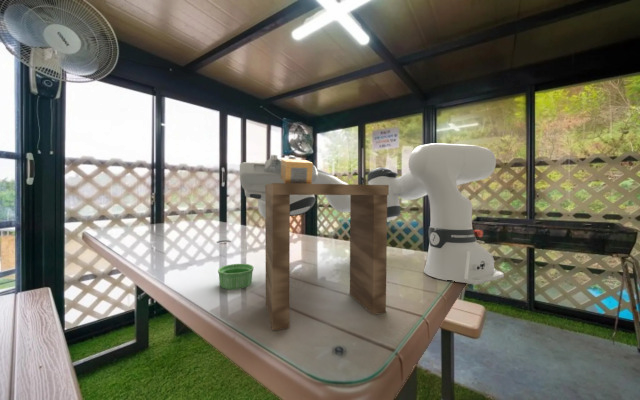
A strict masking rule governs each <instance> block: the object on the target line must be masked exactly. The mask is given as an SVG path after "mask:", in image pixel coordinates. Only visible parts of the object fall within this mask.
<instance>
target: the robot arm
mask: <svg viewBox="0 0 640 400" xmlns="http://www.w3.org/2000/svg"><path fill="white" fill-rule="evenodd" d="M277 157H278V155H277V154H271V155H270V158H269V159H267V160H266V161H265V162H245V161H243V162H241V163H240V164H239V180H240V186H241V187H242V189H243V190H244V196H245V197H246V198H251V199H257V210H258V212H259V215H261V217H262V218H264V219H265V220H266V194H265V185H268V184H271V183H284V182H283V181H282V180H281V174H280V173H278V172H277V171H276V170H275V165H277V161H278V158H279V157H278V158H277ZM287 158H288V159H292V160H297V158H296V156H295V155H289V156H288V157H287ZM407 164H408V170H407V171H406V172H405V173H403V175H401V176H398V175H399V174H398V172H396V171H393V170H392V169H390V168H388V167H377V168H374V169H372V170H370V171H369V172H368V173H367V176H366V177H367V178H366V179H367V180H366V181H367V183H368V184H367V185H389V195H387V222H390V221H392V220H395V219H396V218H398V217H400V215H401V213H402V208H401V205H400V198H401V199H402V200H404V201H405V200H406V201H411V200H412V201H413V200H417V199H421V198H423V197H425V196H428V201H429V210H430V211H429V212H430V214H429V215H430V217H429V218H430V224H429V225H430V226H429V227H428V240H429V245H428V251H427V257H426V261H425V267H424V269H423V273H424V274H425V275H428V276H430V277H431V278H432V277H433V278H435V279H439V280H441V281H447V280H454V281H455V282H456V283H465V284H470V285H474V286H478V285H481V284H485V283H488V282H491V281H494V280H498V279H502V278H504V277H505V275H504V274H505V273H504V272H502V271H501V270H498V269H495V260H494V256H493V254H491V252H489V251H488V250H487V249H485V248H484V246H482V245H481V244H480V243H478V241H477V238H476V237H479V238H483V235H484V231H483V230H482V229H473V225H472V223H473V204H472V201H471V200H470V199H469V197H467V196H466V195H463V194H462V193H461V191H460V190H459V188H458V186H461V185H465V184H468V183H472V182H476V181H477V182H478V181H482V180H486V179H488V178H489V177H490V176H492V174H494V171H495V169H496V165H497V159H496V155H495V153H494V152H493V150H491V149H489V148H486V147H482V146H479V145H474V144H457V143H436V142H435V143H434V142H433V143H427V144H422V145H418V146H416V147H415V148H414V149H413V151H411V153H410V155H409V157H408V163H407ZM312 184H348V183H347V182H346V181H342V180H341V179H339V178H338V177H336V176H335V175H333V174H331V173H329V172H326V171H323V170H321V169H318V168H317V167H316V166H315V165H314V164H313V169H312ZM315 196H316V195H290V217H295V216H302V215H304V214H305V213H308V212H309V211H310V210H311V209H312V208H313V207H314V204H315V203H316V197H315ZM324 197H325V198H326V201H327V202H328V203H329V205H330V206H331V207H332V209H334V210H336V211H338V212H341V213H350V195H324ZM454 281H453V282H454Z"/></svg>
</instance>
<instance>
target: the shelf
mask: <svg viewBox="0 0 640 400" xmlns="http://www.w3.org/2000/svg"><path fill="white" fill-rule="evenodd" d="M265 194H266V219H265V307H266V308H265V309H266V311H267V315H268V319H269V323H270V326H271V330H272V331H273V332H275V331H279V330H284V329H285V330H286V329H290V275H291V274H290V273H291V272H290V265H291V264H290V256H291V254H290V253H291V252H290V251H291V250H290V246H291V245H290V243H291V242H290V240H291V238H290V237H291V235H290V228H291V225H290V224H291V223H290V219H291V216H290V195H314V196H325V195H350V212H349V213H350V214H349V215H350V216H349V217H350V218H349V222H350V225H349V230H350V231H349V295H350V296H351V297H352V298H354V299H355V300H356V301H357V302H358V303H359V304H360V305H361V306H363V307H364V308H365V309H366V310H367V311H368V312H369V313H370V314H372V315H378V314H383V313H385V314H386V313H387V245H388V244H387V242H388V241H387V240H388V239H387V238H388V232H387V231H388V221H387V195H389V185H368V184H356V183H355V184H350V183H347V184H297V183H271V184H268V185H265Z"/></svg>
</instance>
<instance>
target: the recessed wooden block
mask: <svg viewBox="0 0 640 400" xmlns="http://www.w3.org/2000/svg"><path fill="white" fill-rule="evenodd" d="M277 158H278V161H277V165H275V170H276V171H277V172H278V173H280V174H281V180H282V181H283V182H284V183H297V184H312V169H313V165H314V163H313V162H312V161H309V160H306V159H296V160H292V159H288V158H289V157H279V156H277Z"/></svg>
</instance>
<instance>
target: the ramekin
mask: <svg viewBox="0 0 640 400" xmlns="http://www.w3.org/2000/svg"><path fill="white" fill-rule="evenodd" d="M253 271H254V266H253V265H251V264H248V263H233V264H227V265H224V266H222V267H221V266H220V267H219V268H218V270H217V272H218V276H219V277H218V280H219V286H220V288H222V289H224V288H225V290H239V289H244V288H247V287H249V286H250V285H251V284H252V282H253Z"/></svg>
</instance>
